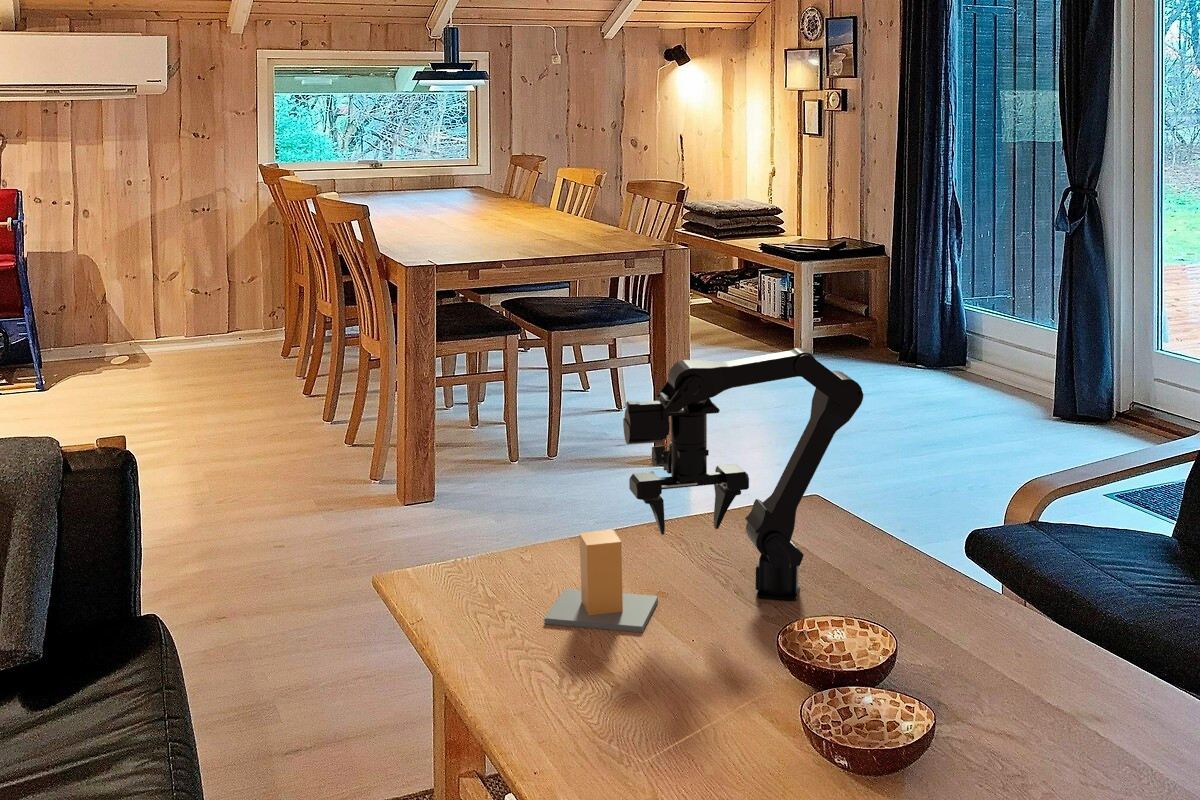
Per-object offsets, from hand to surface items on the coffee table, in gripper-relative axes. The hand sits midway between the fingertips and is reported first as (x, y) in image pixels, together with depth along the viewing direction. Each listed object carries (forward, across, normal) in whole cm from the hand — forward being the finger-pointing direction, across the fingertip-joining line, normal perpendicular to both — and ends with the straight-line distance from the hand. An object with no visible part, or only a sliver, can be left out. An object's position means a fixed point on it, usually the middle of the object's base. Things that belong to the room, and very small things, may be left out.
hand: (689, 531), depth 211 cm
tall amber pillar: (+11, +15, +1) cm, 19 cm away
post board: (+12, +15, +1) cm, 19 cm away
